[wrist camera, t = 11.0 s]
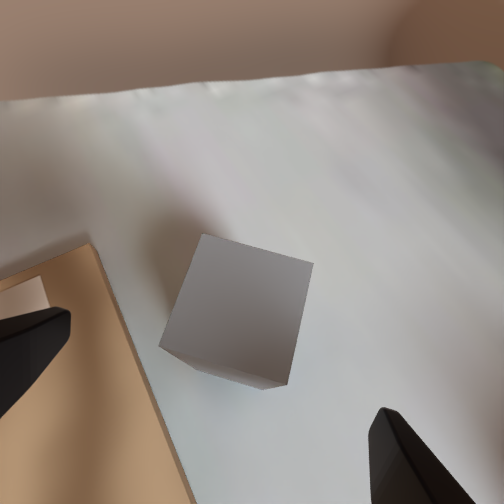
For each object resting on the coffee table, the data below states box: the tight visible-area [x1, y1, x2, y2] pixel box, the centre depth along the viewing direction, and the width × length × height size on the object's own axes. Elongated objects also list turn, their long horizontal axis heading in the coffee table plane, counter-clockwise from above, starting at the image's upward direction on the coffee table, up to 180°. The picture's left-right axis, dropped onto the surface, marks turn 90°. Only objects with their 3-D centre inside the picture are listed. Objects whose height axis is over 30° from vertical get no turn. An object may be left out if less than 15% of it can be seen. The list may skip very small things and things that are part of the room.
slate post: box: [159, 233, 314, 390], centre depth 15 cm, size 4×4×10 cm
